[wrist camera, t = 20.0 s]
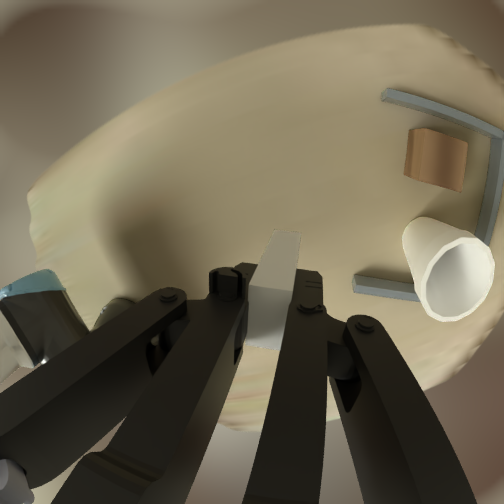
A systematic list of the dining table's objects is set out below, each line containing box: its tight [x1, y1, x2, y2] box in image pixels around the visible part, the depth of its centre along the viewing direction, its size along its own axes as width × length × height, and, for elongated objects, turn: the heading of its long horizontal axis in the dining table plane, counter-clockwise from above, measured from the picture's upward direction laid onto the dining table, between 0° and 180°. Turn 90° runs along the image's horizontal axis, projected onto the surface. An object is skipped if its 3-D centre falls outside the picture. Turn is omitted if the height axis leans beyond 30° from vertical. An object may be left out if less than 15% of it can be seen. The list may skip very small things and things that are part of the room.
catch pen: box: [352, 88, 504, 302], centre depth 29 cm, size 19×26×3 cm
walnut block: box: [404, 128, 468, 192], centre depth 26 cm, size 6×6×6 cm
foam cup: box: [402, 217, 495, 322], centre depth 27 cm, size 10×9×13 cm
